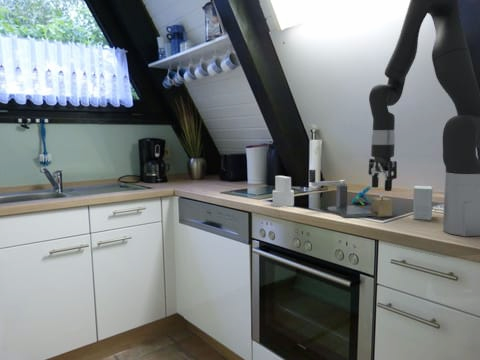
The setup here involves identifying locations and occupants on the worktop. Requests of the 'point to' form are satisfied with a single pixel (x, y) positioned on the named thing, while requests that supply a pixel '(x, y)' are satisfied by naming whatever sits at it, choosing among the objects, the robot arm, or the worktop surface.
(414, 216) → the small box
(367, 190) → the blue plastic figure
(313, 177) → the lever
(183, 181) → the worktop surface
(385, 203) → the housing
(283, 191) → the base with upright slab
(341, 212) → the press
